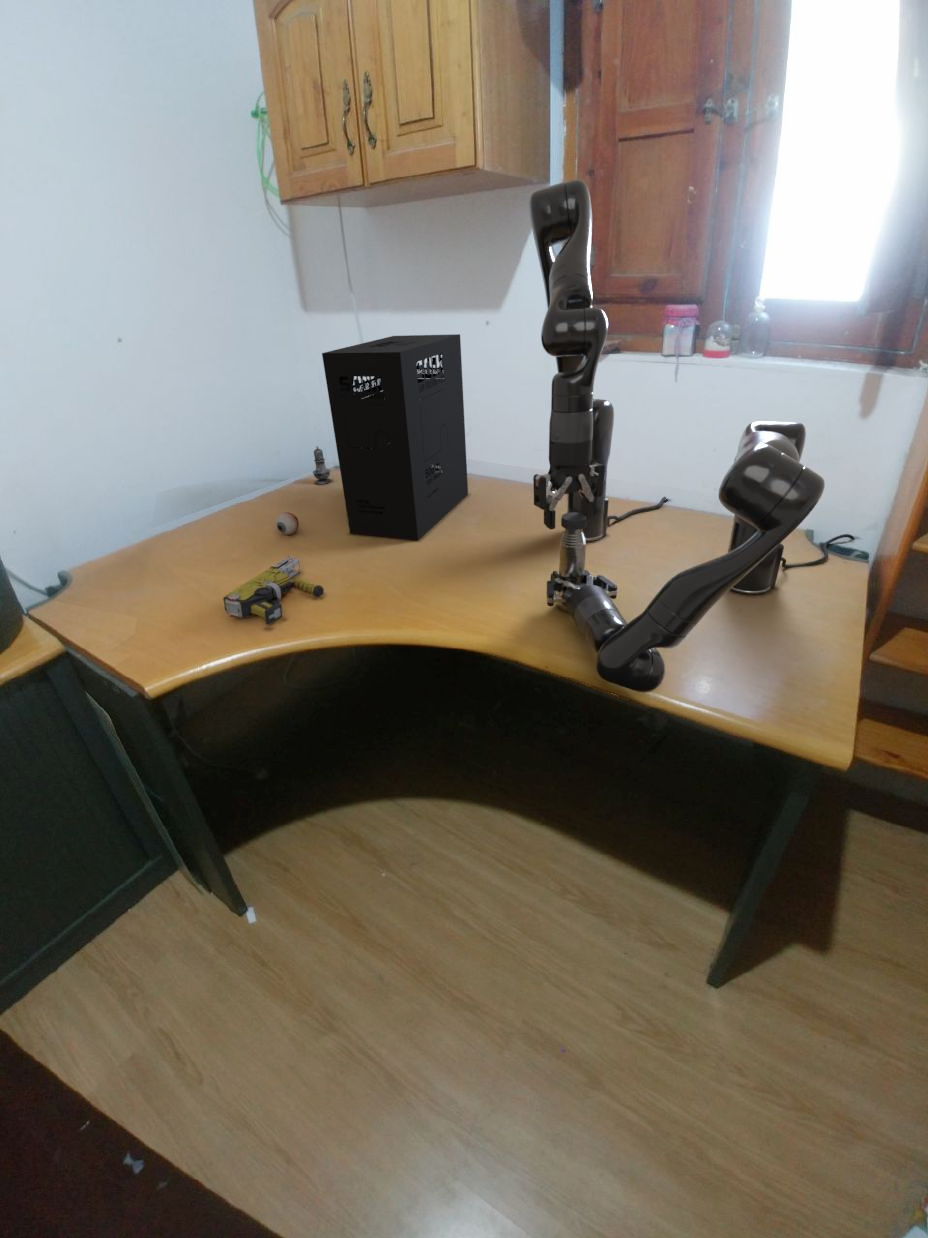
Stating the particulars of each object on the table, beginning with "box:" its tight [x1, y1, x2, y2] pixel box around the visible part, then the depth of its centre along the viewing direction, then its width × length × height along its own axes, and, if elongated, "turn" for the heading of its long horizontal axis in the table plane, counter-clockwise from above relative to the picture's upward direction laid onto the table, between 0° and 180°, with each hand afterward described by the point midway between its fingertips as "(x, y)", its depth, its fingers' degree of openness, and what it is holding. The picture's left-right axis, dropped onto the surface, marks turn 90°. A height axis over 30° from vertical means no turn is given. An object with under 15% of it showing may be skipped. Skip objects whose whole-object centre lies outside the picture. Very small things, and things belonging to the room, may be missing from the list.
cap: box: [560, 512, 587, 530], centre depth 113 cm, size 5×5×2 cm
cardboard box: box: [321, 333, 469, 541], centre depth 164 cm, size 38×20×45 cm, turn 159°
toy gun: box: [222, 556, 324, 626], centre depth 131 cm, size 5×24×15 cm
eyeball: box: [275, 511, 300, 536], centre depth 163 cm, size 6×6×6 cm
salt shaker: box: [312, 446, 332, 485], centre depth 203 cm, size 6×6×12 cm
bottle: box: [557, 528, 587, 612], centre depth 118 cm, size 5×5×19 cm
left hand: (567, 523), depth 114 cm, fingers open, 7 cm apart
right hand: (567, 573), depth 122 cm, fingers closed on bottle, 5 cm apart
